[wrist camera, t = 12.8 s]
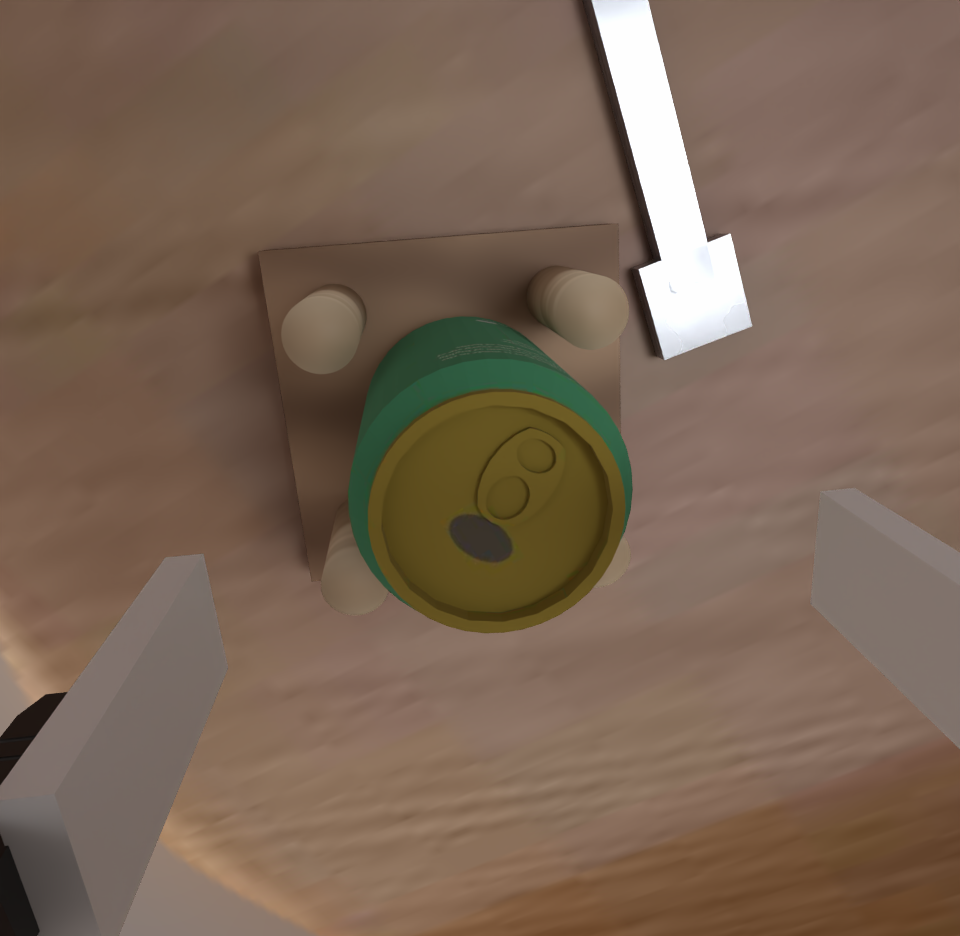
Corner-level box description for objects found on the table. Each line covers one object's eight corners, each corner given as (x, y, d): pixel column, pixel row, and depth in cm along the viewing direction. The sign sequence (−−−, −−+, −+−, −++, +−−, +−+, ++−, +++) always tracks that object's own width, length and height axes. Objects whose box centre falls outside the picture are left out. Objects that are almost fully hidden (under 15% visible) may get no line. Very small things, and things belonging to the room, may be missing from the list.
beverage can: (330, 440, 30) (287, 568, 19) (432, 273, 29) (452, 304, 17) (489, 531, 32) (537, 695, 21) (594, 380, 31) (706, 470, 19)
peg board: (264, 250, 29) (221, 257, 22) (608, 223, 30) (671, 223, 23) (315, 566, 34) (292, 657, 27) (612, 533, 35) (667, 612, 28)
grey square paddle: (553, -2, 28) (559, -12, 27) (652, -41, 28) (663, -52, 26) (655, 355, 32) (664, 359, 31) (739, 322, 32) (752, 326, 31)
